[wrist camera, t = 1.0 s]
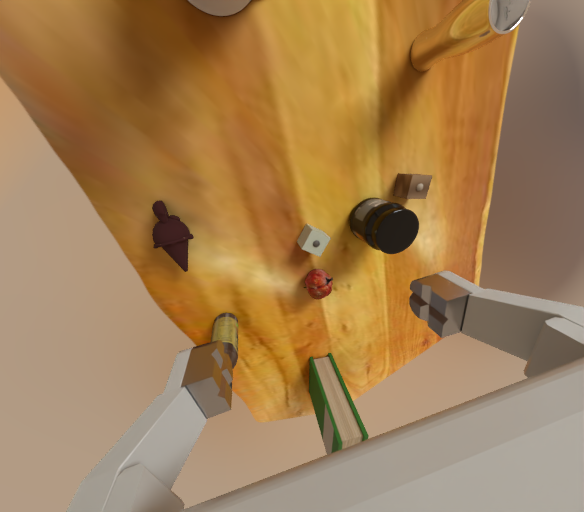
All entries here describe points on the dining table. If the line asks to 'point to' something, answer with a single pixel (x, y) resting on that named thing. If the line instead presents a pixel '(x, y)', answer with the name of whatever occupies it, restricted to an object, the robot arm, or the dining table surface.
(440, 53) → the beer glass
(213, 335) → the sauce bottle
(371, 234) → the supplement container
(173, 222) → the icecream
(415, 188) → the walnut cube
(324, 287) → the pomegranate
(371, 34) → the dining table surface
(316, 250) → the sage cube
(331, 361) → the hardback book
